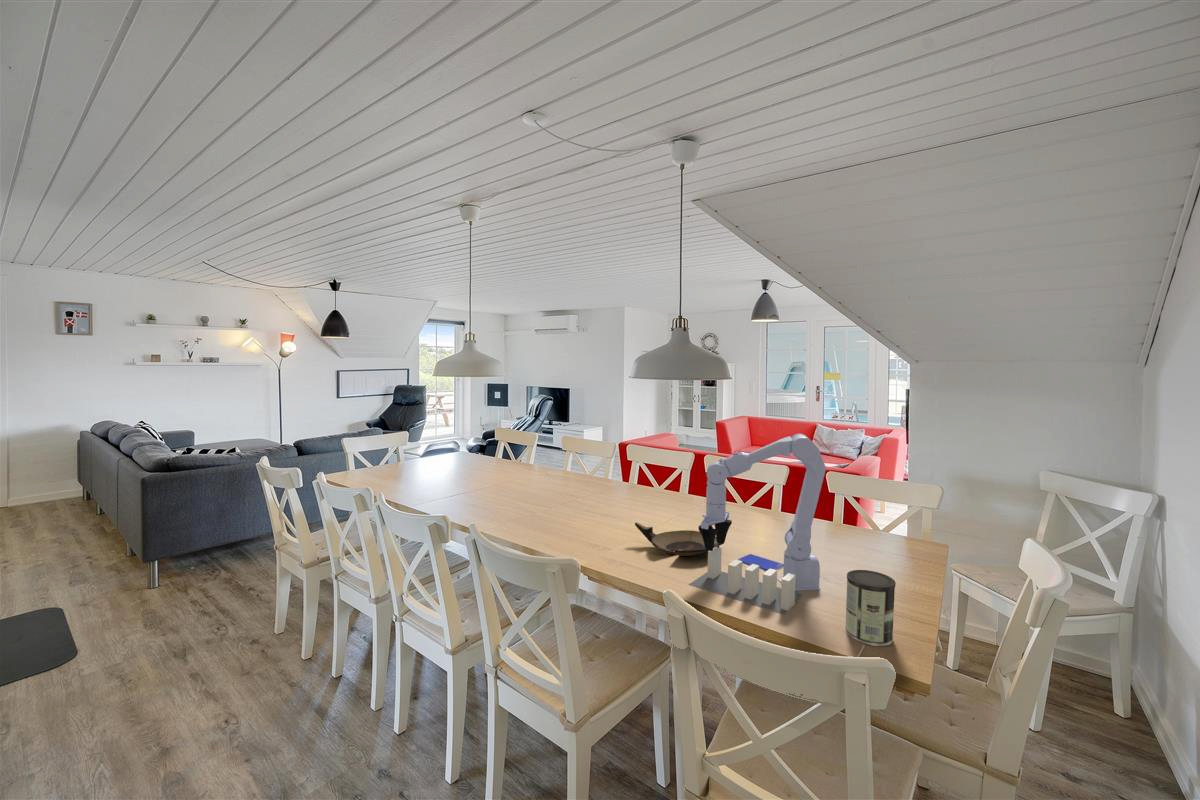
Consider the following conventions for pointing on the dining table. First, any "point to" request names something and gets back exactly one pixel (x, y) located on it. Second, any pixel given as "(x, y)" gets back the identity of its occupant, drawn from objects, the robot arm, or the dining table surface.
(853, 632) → the coffee can
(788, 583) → the domino
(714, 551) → the domino
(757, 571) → the domino
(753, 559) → the hard drive
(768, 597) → the domino
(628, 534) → the dining table surface
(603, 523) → the dining table surface
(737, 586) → the domino
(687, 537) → the oil lamp
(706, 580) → the mat
